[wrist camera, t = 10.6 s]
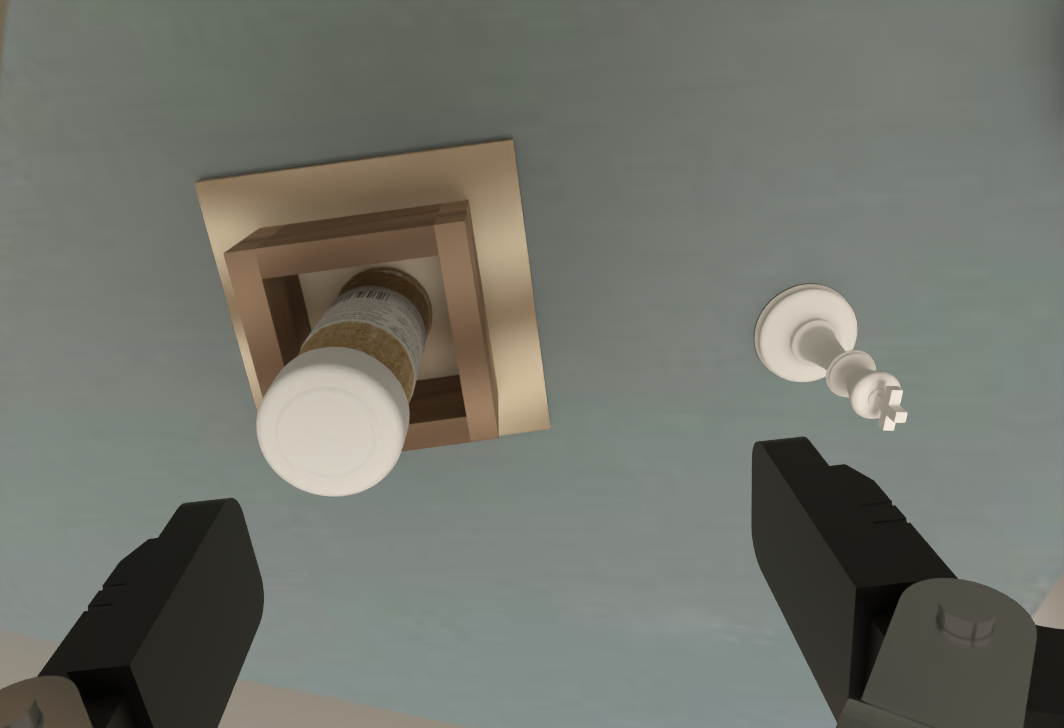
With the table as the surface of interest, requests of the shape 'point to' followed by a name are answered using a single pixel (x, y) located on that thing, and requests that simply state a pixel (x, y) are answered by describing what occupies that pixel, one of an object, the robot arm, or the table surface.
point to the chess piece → (825, 351)
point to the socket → (402, 244)
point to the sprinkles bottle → (349, 388)
